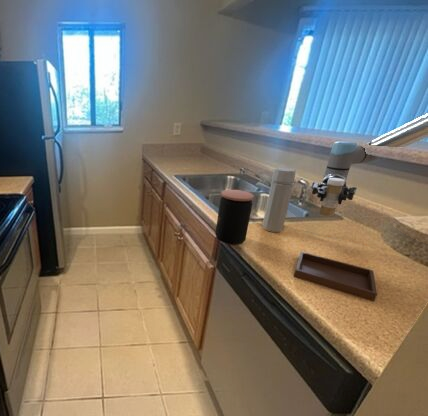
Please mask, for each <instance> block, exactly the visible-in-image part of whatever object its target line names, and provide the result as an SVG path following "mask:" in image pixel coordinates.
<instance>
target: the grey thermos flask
mask: <svg viewBox="0 0 428 416" xmlns="http://www.w3.org/2000/svg"><path fill="white" fill-rule="evenodd" d="M296 172H297V171H296V169H295V168H290V167H281V166H279V167H275V168H274V171H273V173H272V177H271V179H270V182H271V183H270V187H269V193H268V197H267V201H266V207H265V212H264V216H263V219H262V220H263V221H262V228H263V229H264V230H265V231H267V232H271V233H280V232H281V231H283V230H284V226H285V223H286V222H285V221H286V218H287V217H286V216H287V213H288V209H289V206H290V202H291V201H290V200H291V197H292V193H293V189H294V185H296V182H295V179H296Z"/></svg>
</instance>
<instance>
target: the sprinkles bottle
mask: <svg viewBox="0 0 428 416" xmlns="http://www.w3.org/2000/svg"><path fill="white" fill-rule="evenodd" d="M327 183H328V184H327V188H326V191H325V194H324V198H323V201H321V205H320V208H319V211H318V213H319V215H322V216H324V217H334V216H335V212H336V209H337V207H338V205H339V204H338V200H339V197H340V193H341V190H342V187H343V185H344V183H345V180H344V179H340V178H329V179H328V182H327Z"/></svg>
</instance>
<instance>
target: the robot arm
mask: <svg viewBox="0 0 428 416" xmlns="http://www.w3.org/2000/svg"><path fill="white" fill-rule="evenodd" d="M427 138H428V113H426V114H424V115H421V116H420V117H417V118H416V119H414V120H411V121H409V122H407V123H405V124H402V125H401V126H399V127H397V128H395V129H393V130H391V131H389V132H387V133H385V134H383V135H381V136H379V137H377V138H375V139H373V140H371V141H368V142H367V144H369V145H376V146H388V147H403V148H406V147H408V146H410V145H413V144H415V143H417V142H420V141H423V140H424V139H427ZM377 158H378V157H375V156H372V155H368V154H366V152H365V148H363V147H362V145H358V144H357V142H356V141H355V142H354V141H343V140H342V141H341V140H340V141H339V140H338V141H335V142H334V143H333V144H332V148H331V150H330V154H329V156H328V162H327V165H326V168H325V172H324V174H323V178H322V182H321V183H319V182H317V181H312V183H311V187H310V188H311V189H312V191H311V195H316V194H317V195H316V197H317V198H319V202H322V201H323V198H324V194H325V191H326V188H327V184H328V183H327V182H328V179H329V178H340V179H344V180H345V183H344V185H343V187H342V190H341V193H340V197H339V200H338V204H337V205H342V203H343V201H344V202H345V201H347V200H349V201H352V200H353V198H354V195H356V192H357V187H356V186H354V187H348V185H347V179H348V175H349V172H350V169H351V166H352V165H357V164H358V165H359V164H369V163H368V162H371V161H373V160H375V159H377Z"/></svg>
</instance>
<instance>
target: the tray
mask: <svg viewBox="0 0 428 416" xmlns="http://www.w3.org/2000/svg"><path fill="white" fill-rule="evenodd" d="M293 278H297V279H300V280H303V281H306V282H310V283H314V284H317V285H320V286H323V287H326V288H329V289H333V290H336V291H339V292H341V293H345V294H348V295H352V296H355V297H358V298H362V299H365V300H368V301H371V302H375V300H376V298H377V295H378V289H377V285H376V279H375V273H374V270H373V269H369V268H366V267H362V266H357V265H354V264H350V263H346V262H343V261H339V260H334V259H331V258H327V257H323V256H319V255H316V254H312V253H308V252H305V251H300V252H299V256H298V259H297V263H296V267H295V270H294V274H293Z"/></svg>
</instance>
